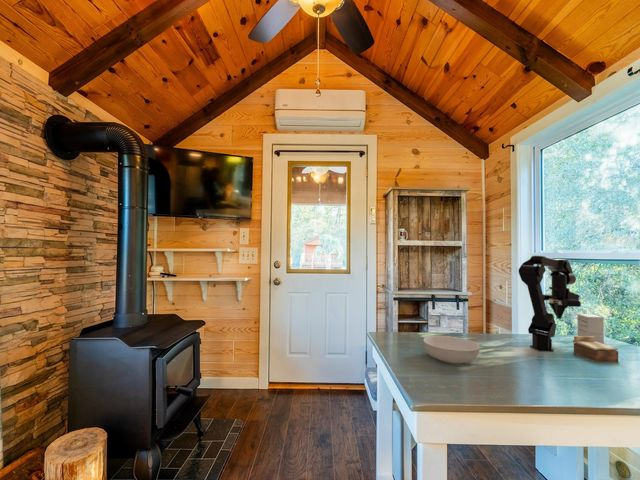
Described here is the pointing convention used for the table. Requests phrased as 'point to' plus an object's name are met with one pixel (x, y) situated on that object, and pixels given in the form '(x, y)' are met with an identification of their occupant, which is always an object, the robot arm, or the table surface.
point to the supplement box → (591, 326)
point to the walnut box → (596, 354)
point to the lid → (591, 343)
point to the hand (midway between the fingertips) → (559, 318)
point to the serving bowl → (451, 349)
